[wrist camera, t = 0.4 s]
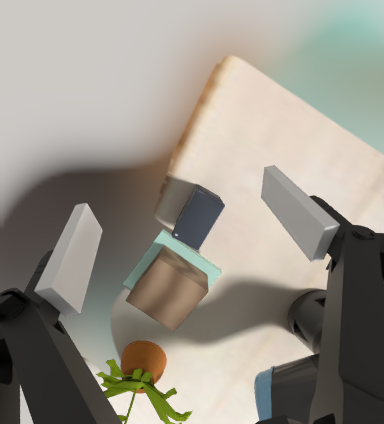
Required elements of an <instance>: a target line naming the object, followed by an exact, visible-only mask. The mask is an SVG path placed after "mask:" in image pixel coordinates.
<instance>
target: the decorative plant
mask: <svg viewBox="0 0 384 424" xmlns="http://www.w3.org/2000/svg"><path fill="white" fill-rule="evenodd" d="M106 363H108V365H109V366H110V367H111V376H109V375H105V374H104V373H103V372H100V373H98V374H96V375H98V376H99V377H102V378H103V380H104V383H102V384H101V385H102V386H104V387H106V388H108V390H106V391H104V394H105V396H106V397H107V398H109V397H112V396H115V395H118V394H121V393H124V392H127V391H132V392H134V394H133V397H132V401H131V404H130V407H129V410H128V413H127V416H126V417H125V416H123V415H117V416H118V417H119V419H120V421H121V422H122V421H124V420H125V423H124V424H126V423H127V420H128V417H129V413H130V410H131V407H132V404H133V400H134V397H135V393H146V394H147V396H148V397H149V399H150V401H151V403H152V405H153V406H154V408H155V410H156V412H157V414H158V415H159V417H160V419H161V420H162V421H164V423H165V424H174V423H172V422H170V421H169V419H168V417H167V416H169V417H171V418H172V419H174V420H176V421H186V420H187V419H188V418H189V416H190V415H191V413H192V411H191V412H185V413H184V414H180V413H178V412H175V411H174V410H173V409H172V407H171V406H170V405H169V404H168V402H167V401H166V399H167V398H169V397H170V396H172V395H174V394H176V393H177V392H176V390H175V388H173V389H171V390H169V391H168V392H167V393H166V394H163V393H162V392H160V391H158V390H157V389H156V387H155V386H154V384H155V383H157V381H158V380H159V379H160V378H161V376H162V374H163V371H164V369H165V366H166V355H165V353H164V351H163V350H162V349H161V348H160V347H159V346H158V345H156V344H154V343H152V342H149V341H136V342H133V343H131V344H129V345H128V346H127V347H126V348H125V350H124V352H123V356H122V361H121V370H120V369H119V367H118V366H117V364H116V362H115V360H114V359H113V360H108V361H107V362H106ZM112 376H114V377H122V380H118V379H116V378H114V377H112ZM166 414H167V415H166ZM179 424H182V423H179Z"/></svg>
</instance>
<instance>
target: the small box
mask: <svg viewBox="0 0 384 424" xmlns="http://www.w3.org/2000/svg"><path fill="white" fill-rule="evenodd" d="M224 207H225V205H224V203H223V202H222V200H221V199H220V197H219V196H217V195H216V194H214V193H212V192H211V191H209V190H207V189H205V188H203V187H202V186H200V185H196V187H195V189H194V191H193V193H192V194H191V196H190V198H189V200H188V201H187V203H186V205H185V207H184V208H183V210H182V212H181V214H180V216H179V218H178V220H177V221H176V225H175V227H174V230H173V232H172V235H171V237H173V238H175V239H177V240H178V241H180V242H182V243H184V244H186V245H188V246H190V247H192V248H194V249H196V250H199V248H200V247H201V245H202V243H203V242H204V240H205V238H206V237H207V235H208V233H209V232H210V230H211V228H212V227H213V225H214V223H215V222H216V220H217V218H218V217H219V215H220V213H221V212H222V210H223V209H224Z"/></svg>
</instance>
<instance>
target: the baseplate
mask: <svg viewBox="0 0 384 424" xmlns="http://www.w3.org/2000/svg"><path fill="white" fill-rule="evenodd" d="M164 245H166V246H167V247H169V248H170V249H171V250H173V251H174V252H176V253H177V254H179V255H180V256H182V257H183V258H184V259H186V260H187V261H189V262H190V263H192V264H193V265H194V266H196V267H197V268H199V269H200V270H202V271H203V272H205V273H206V274H207V275H208V288H209V287H210V286H211V285H212V284H213V282H214V281H215V280H216V279H217V278H218V277H219V276H220V274H221V273H222V272H221V269H219V268H218V267H216V266H215V265H214V264H212V263H211V262H209V261H208V260H206V259H205V258H204V257H202V256H201V255H199V254H198V253H196V252H195V251H194V250H192V249H191V248H189V247H188V246H187V245H185V244H184V243H182V242H180V241H178V240H177V239H175V238H173V237H171V234H169V233H168V232H167V231H165V230H164V229H163V230H162V231H161V232H160V234H159V235H158V236H157V238H156V239H155V240H154V242H153V243H152V244H151V246H150V247H149V249H148V250H147V251H146V253H145V254H144V255H143V257H142V258H141V259H140V261H139V262H138V264H137V265H136V266H135V267H134V269H133V270H132V272H131V273H130V274H129V276H128V277H127V278H126V280H125V281H124V283H123V285H125V286H126V287H128V288H129V289H131V290H132V289H133V287H134V285H135V283H136V282H137V280H138V279H139V278H140V276H141V275H142V274H143V272H144V271H145V270H146V268H147V267H148V266H149V265H150V263H151V262H152V261H153V259H154V258H155V257H156V255H157V254H158V253H159V251H160V250H161V249H162V247H163V246H164Z"/></svg>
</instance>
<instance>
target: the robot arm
mask: <svg viewBox="0 0 384 424" xmlns="http://www.w3.org/2000/svg"><path fill="white" fill-rule="evenodd" d="M261 198H262V199H263V201H264V202H265V203H266V204H267V206H268V207H269V208H270V210H271V211H272V212H273V214H274V215H275V216H276V217H277V219H278V220H279V221H280V223H281V224H282V225H283V227H284V228H285V229H286V230H287V232H288V233H289V234H290V236H291V237H292V238H293V240H294V241H295V242H296V243H297V245H298V246H299V247H300V249H301V250H302V251H303V253H304V254H305V255H306V256H307V258H308V259H309V260H310V262H314V261H319V260H323V259H324V258H325V256H326V253H328V254H329V255H330V256H331V260H330V262H329V264H328V266H327V268H326V270H328V269H329V273H328V282H327V291H313V292H309V293H307V294H305V295H303V296H301V297H300V298H298V299H297V300H296V301H295V302H294V303H293V305H292V306H291V308H290V310H289V314H288V322H289V325H290V327H291V329H292V331H293V333H294V334H295V336H296V337H297V338H298V339H299V340H300V341H301V342H302V343H303V344H304V345H305V346H306V347H308V348H309V349H310V350H311V351H312V352H313V353H314V355H311V356H308V357H305V358H302V359H298V360H295V361H292V362H289V363H286V364H283V365H280V366H276V367H275V366H272V367H271V368H270V369H268V370H265V371H263V372H260V373H259V374H258V375H257V376H256V378H255V386H254V389H255V399H256V406H257V411H258V416H259V421H258V422H257V423H255V424H384V233H375V232H374V231H372V230H371V229H369V228H367V227H364V226H359V225H352V224H351V223H350V222H349V221H348V220H346V219H345V218H344V217H343V216H342V215H341V214H339V213H338V212H337V211H336V210H334V209H333V208H332V207H331V206H329V204H328V203H326V202H325V201H324V200H323V199H321V198H319V197H317V196H314V195H313V196H308V195H307V194H306V193H304V192H303V191H302V190H301V189H300V188H299V187H298V186H297V185H296V184H294V183H293V182H292V181H291V180H290V179H289V178H288V177H287V176H286V175H285V174H283V173H282V172H281V171H280V170H279V169H278V168H277V167H276V166H275V165H274V166H269V167H264V176H263V185H262V194H261ZM102 231H103V230H102V228H101V227H100V225H99V223H98V221H97V220H96V218H95V216H94V215H93V213H92V211H91V209H90V208H89V206H88V204H87V203H83V204H78V205H76V206H75V208H74V210H73V212H72V214H71V216H70V218H69V220H68V222H67V224H66V226H65V228H64V230H63V233H62V235H61V237H60V239H59V241H58V243H57V245H56V247H55V249H54V250H52V251H48V252H47V254H46V255H45V256H44V257H43V258H42V259H41V261H40V263H39V265H38V268H37V269H36V271H35V272H34V275H33V276H32V278H31V280H30V282H29V284H28V286H27V287H26V289H25V291H24V293H22V292H21V291H20V290H18V289H17V288H11V289H8V290H5V291H3V292H1V293H0V424H20V385H21V388H22V391H23V394H24V396H25V400H26V402H27V405H28V408H29V411H30V414H31V417H32V420H33V423H34V424H122V422H121V421H120V419H119V417H118V416H117V414H116V412H115V411H114V409H113V407H112V406H111V404H110V402H109V401H108V399H107V397H106V396H105V394H104V392H103V391H102V389H101V388H100V386H99V384H98V383H97V381H96V379H95V378H94V376H93V374H92V373H91V371H90V369H89V368H88V366H87V364H86V363H85V361H84V359H83V358H82V356H81V355H80V353H79V351H78V350H77V348H76V346H75V345H74V343H73V341H72V340H71V338H70V336H69V335H68V333H67V331H66V330H65V328H64V326H63V325H62V323H61V322H60V321H59V320H58V317H59V315H60V313H62V314H63V315H64V316H65V317H69V316H73V315H79V314H81V310H82V306H83V302H84V298H85V295H86V291H87V287H88V284H89V280H90V276H91V272H92V268H93V265H94V261H95V257H96V253H97V249H98V246H99V242H100V238H101V234H102Z"/></svg>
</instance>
